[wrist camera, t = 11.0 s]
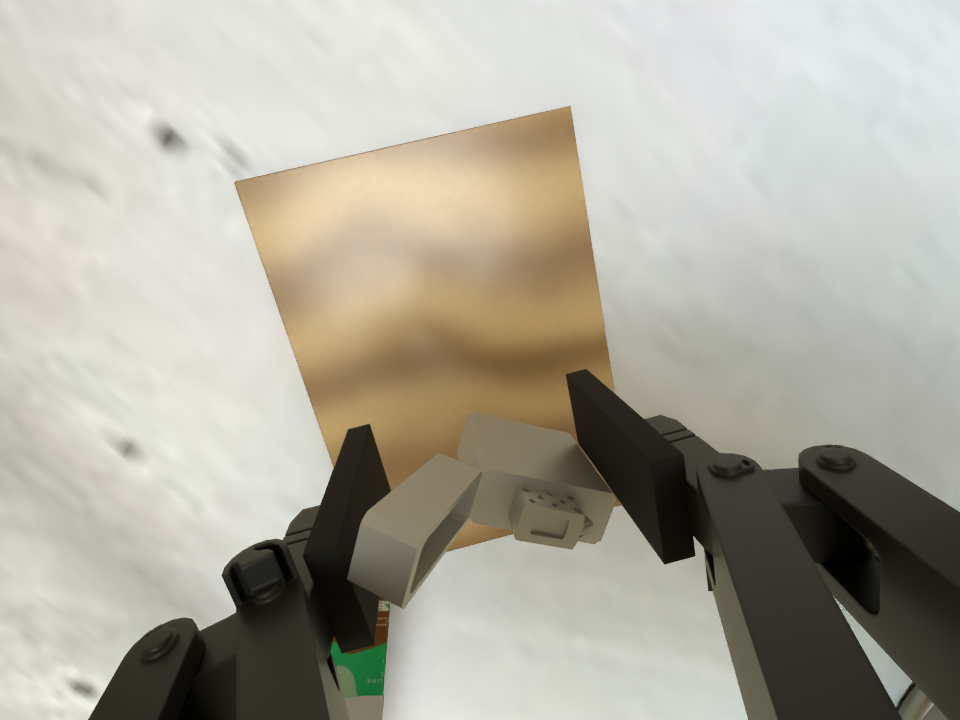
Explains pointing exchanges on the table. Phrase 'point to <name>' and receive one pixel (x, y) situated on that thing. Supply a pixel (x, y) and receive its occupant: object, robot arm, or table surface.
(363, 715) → the food container
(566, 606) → the table surface
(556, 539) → the lighter
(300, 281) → the wooden board
